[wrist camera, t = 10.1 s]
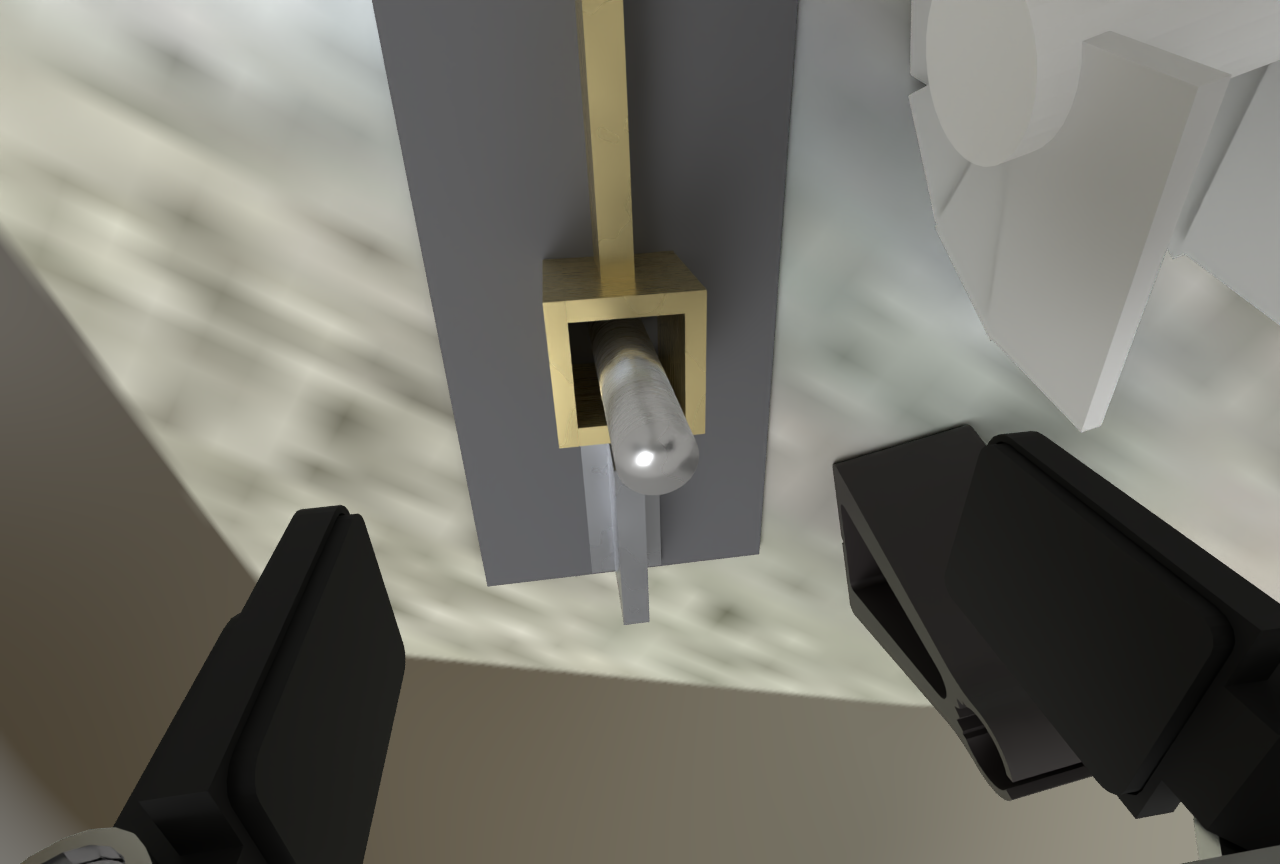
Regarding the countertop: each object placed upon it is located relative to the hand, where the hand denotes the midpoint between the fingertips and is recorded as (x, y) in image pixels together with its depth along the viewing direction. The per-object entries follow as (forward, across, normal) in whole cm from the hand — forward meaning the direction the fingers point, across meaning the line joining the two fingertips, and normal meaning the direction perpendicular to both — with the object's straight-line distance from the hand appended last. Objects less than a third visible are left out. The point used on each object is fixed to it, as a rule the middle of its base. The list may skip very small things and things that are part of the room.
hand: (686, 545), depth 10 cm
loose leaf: (+14, 0, -3) cm, 14 cm away
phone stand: (+14, -13, +12) cm, 23 cm away
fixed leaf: (+14, 0, +6) cm, 15 cm away
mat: (+14, 0, +2) cm, 14 cm away
